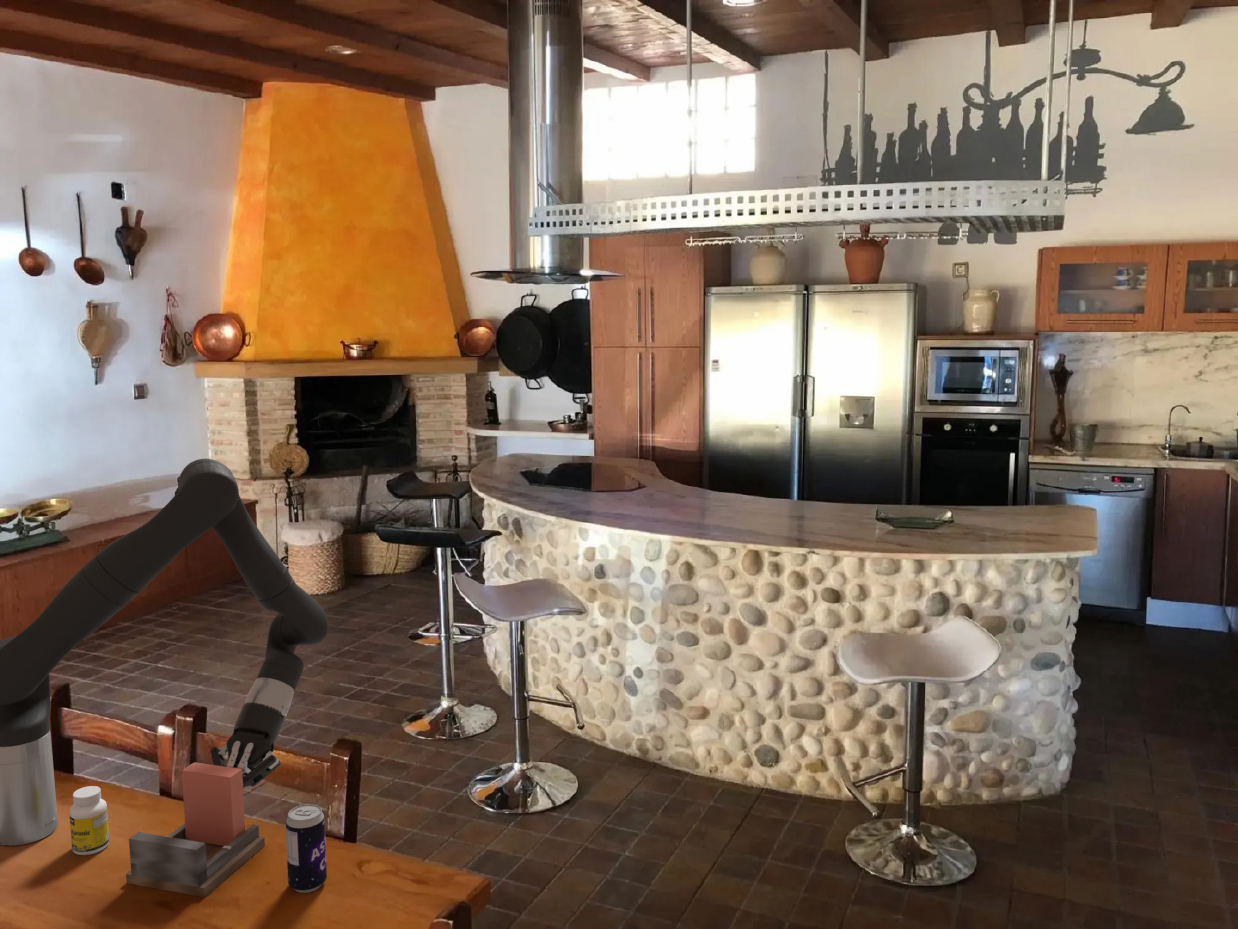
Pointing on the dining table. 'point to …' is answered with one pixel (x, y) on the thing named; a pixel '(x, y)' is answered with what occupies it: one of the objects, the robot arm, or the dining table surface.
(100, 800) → the supplement bottle
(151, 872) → the holder
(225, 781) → the pink upright block
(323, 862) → the beverage can
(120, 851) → the dining table surface
